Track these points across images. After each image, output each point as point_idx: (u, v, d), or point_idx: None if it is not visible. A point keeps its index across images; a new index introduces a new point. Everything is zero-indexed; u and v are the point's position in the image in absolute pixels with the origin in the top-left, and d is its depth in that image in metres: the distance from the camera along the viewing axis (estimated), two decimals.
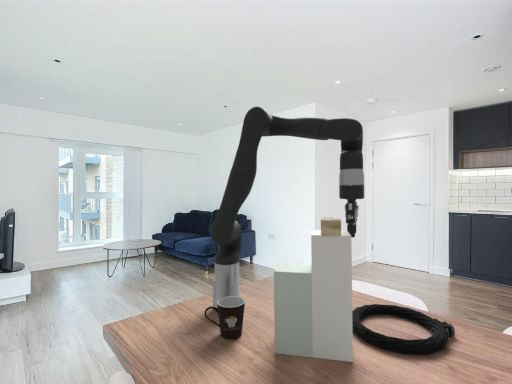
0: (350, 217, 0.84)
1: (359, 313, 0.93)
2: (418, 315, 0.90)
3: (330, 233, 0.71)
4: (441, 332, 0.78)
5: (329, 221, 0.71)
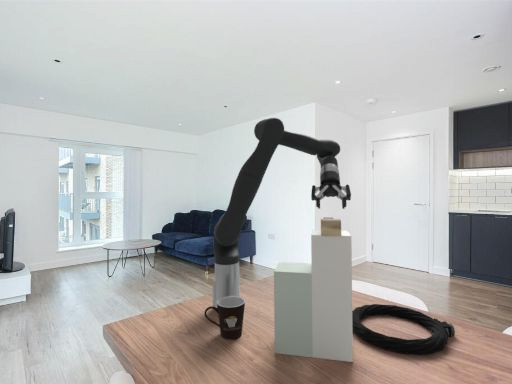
0: None
1: (359, 313, 0.93)
2: (418, 315, 0.90)
3: (330, 233, 0.71)
4: (441, 332, 0.78)
5: (329, 221, 0.71)
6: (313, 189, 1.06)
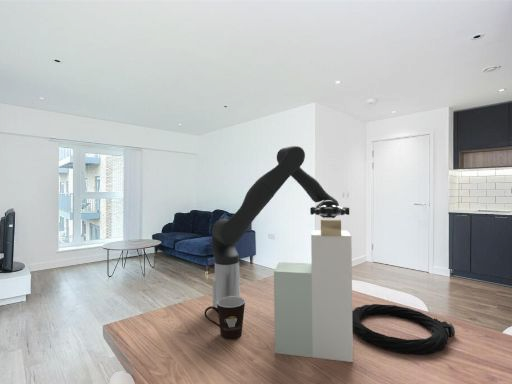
0: (339, 210, 1.04)
1: (359, 313, 0.93)
2: (418, 315, 0.90)
3: (330, 233, 0.71)
4: (441, 332, 0.78)
5: (329, 221, 0.71)
6: (312, 207, 1.09)
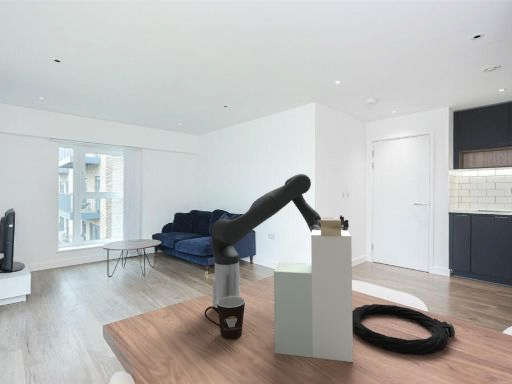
0: None
1: (359, 313, 0.93)
2: (418, 315, 0.90)
3: (330, 233, 0.71)
4: (441, 332, 0.78)
5: (329, 221, 0.71)
6: None
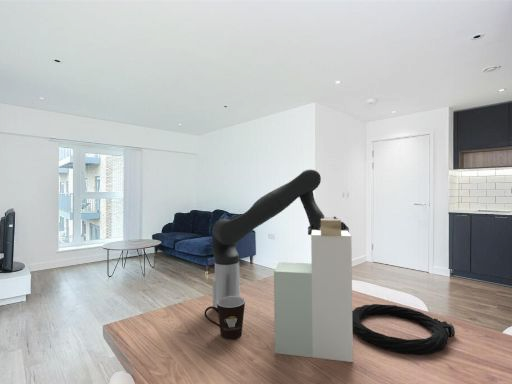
0: None
1: (359, 313, 0.93)
2: (418, 315, 0.90)
3: (330, 233, 0.71)
4: (441, 332, 0.78)
5: (329, 221, 0.71)
6: None
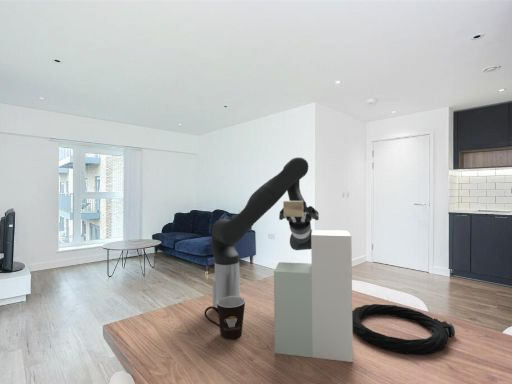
0: None
1: (359, 313, 0.93)
2: (418, 315, 0.90)
3: (292, 214, 0.73)
4: (441, 332, 0.78)
5: (291, 202, 0.73)
6: None
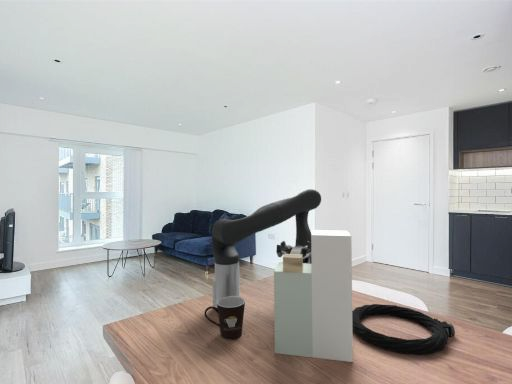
0: (308, 250, 0.91)
1: (359, 313, 0.93)
2: (418, 315, 0.90)
3: (291, 270, 0.73)
4: (441, 332, 0.78)
5: (291, 258, 0.73)
6: None
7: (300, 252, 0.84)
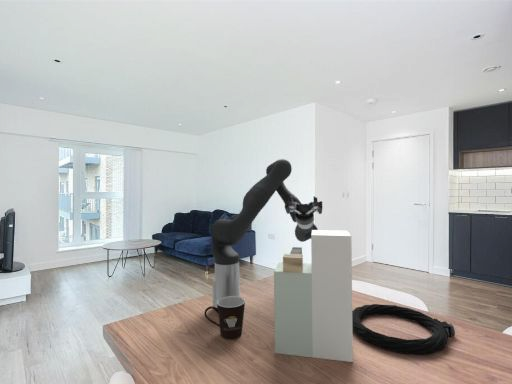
0: (313, 205, 1.06)
1: (359, 313, 0.93)
2: (418, 315, 0.90)
3: (291, 270, 0.73)
4: (441, 332, 0.78)
5: (291, 258, 0.73)
6: None
7: (300, 252, 0.84)
